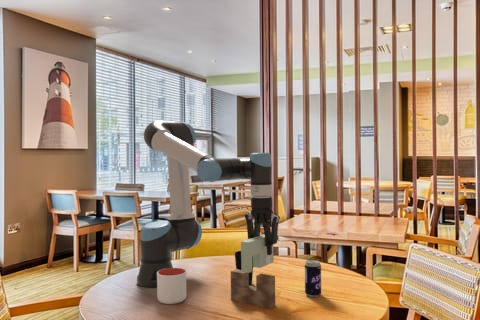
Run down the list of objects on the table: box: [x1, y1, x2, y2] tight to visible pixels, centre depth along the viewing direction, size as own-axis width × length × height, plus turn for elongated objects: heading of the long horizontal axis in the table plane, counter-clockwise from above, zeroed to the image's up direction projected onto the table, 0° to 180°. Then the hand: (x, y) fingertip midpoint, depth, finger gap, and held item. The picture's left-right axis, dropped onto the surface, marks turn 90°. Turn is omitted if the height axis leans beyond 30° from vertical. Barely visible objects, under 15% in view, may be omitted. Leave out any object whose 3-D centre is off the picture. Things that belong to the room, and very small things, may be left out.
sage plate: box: [240, 233, 275, 273], centre depth 145 cm, size 16×3×10 cm, turn 145°
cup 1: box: [156, 267, 187, 305], centre depth 146 cm, size 10×10×10 cm
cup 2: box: [234, 250, 254, 286], centre depth 164 cm, size 8×8×12 cm
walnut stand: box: [230, 268, 276, 310], centre depth 142 cm, size 16×3×10 cm, turn 55°
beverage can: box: [304, 259, 322, 298], centre depth 149 cm, size 6×6×12 cm
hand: (262, 263), depth 147 cm, fingers closed on sage plate, 3 cm apart
